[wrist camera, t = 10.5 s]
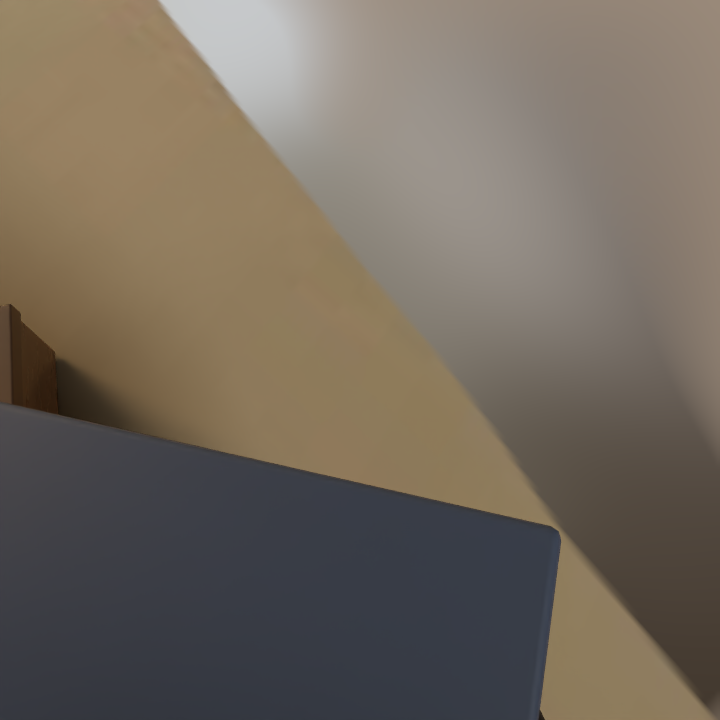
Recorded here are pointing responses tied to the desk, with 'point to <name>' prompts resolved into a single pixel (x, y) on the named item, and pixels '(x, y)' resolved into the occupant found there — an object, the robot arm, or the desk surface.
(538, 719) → the robot arm
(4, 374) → the brown flat block
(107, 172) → the desk surface
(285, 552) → the small box
